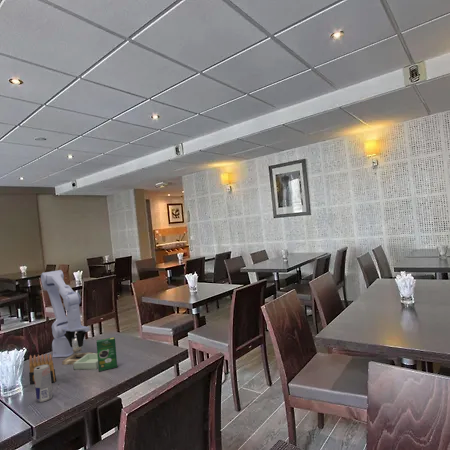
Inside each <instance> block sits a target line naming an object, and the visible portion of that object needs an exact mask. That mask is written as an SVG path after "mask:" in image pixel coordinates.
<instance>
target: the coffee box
mask: <svg viewBox="0 0 450 450" xmlns="http://www.w3.org/2000/svg"><path fill="white" fill-rule="evenodd" d="M116 343H117V342H116V338H115V337H114V336H112V337H108V338H103V339H97V340H96V352H97V356H98V368H97V369H98V372H102V371H106V370H110V369H115V368H118V360H117V359H118V358H117V346H116V345H117V344H116Z"/></svg>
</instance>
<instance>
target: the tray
mask: <svg viewBox="0 0 450 450" xmlns="http://www.w3.org/2000/svg"><path fill="white" fill-rule="evenodd" d="M78 359H79V360H78V361H76V362H75V363H73V364H72V365H73V370H74V371H84V370H85V371H86V370H88V371H89V370H97V369H99V368H98V356H97V353H94V352H93V353H92V354H86V355H85V356H83V357H81V358H78Z"/></svg>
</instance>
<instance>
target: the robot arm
mask: <svg viewBox="0 0 450 450" xmlns="http://www.w3.org/2000/svg"><path fill="white" fill-rule="evenodd" d="M64 277H65V276H64V272H63V270H62V269H59V270H58V269H57V270H51V271H46V272H45V271H44V272H42V273H40V281H41V282H40V283H41V285H42V289H43V290H44V291H47V294H48V297H49V300H50V303H51V308H52V312H53V315H54V318H55V320H54V321H53V323H52V325H51V331H52V332H51V333H52V336H53V340H52V343H51V350H52V355H51V356H52V358H68V357H70V356H71V355H73V354H74V353H73V349H72V338H73V337H77V340H78V345H79V347H83V346H84V339H85V336H86V334H87V332H89V331H90V326H85V325H82V321H81V319H82V318H81V309H80V304H81V299H82V298H81V295H80V293H79V292H76V291H74V290H73V289H72V287H71V286H70V284H66V283H65V280H64ZM62 299H63V300H62ZM62 302H63V303H62ZM65 311H66V312H65Z"/></svg>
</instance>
